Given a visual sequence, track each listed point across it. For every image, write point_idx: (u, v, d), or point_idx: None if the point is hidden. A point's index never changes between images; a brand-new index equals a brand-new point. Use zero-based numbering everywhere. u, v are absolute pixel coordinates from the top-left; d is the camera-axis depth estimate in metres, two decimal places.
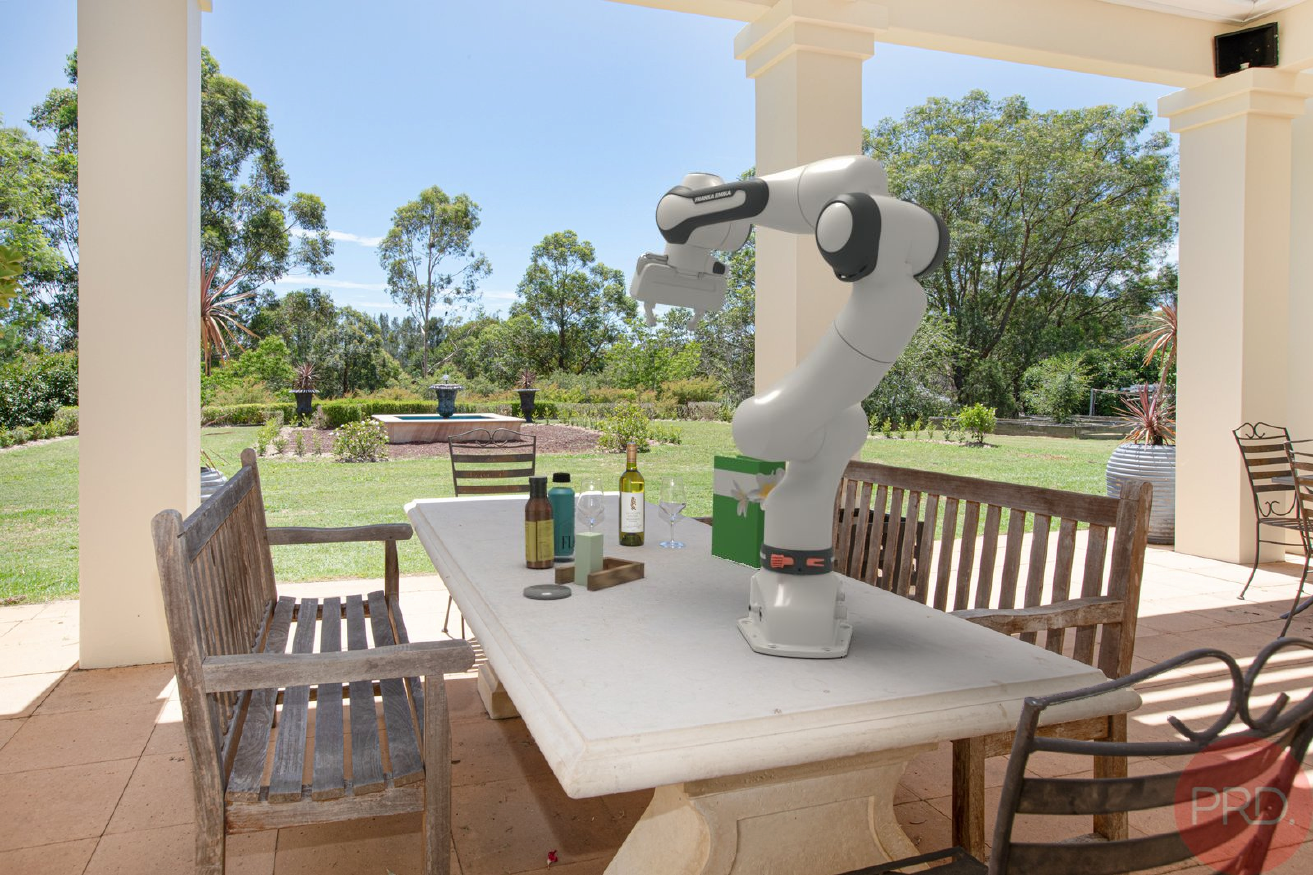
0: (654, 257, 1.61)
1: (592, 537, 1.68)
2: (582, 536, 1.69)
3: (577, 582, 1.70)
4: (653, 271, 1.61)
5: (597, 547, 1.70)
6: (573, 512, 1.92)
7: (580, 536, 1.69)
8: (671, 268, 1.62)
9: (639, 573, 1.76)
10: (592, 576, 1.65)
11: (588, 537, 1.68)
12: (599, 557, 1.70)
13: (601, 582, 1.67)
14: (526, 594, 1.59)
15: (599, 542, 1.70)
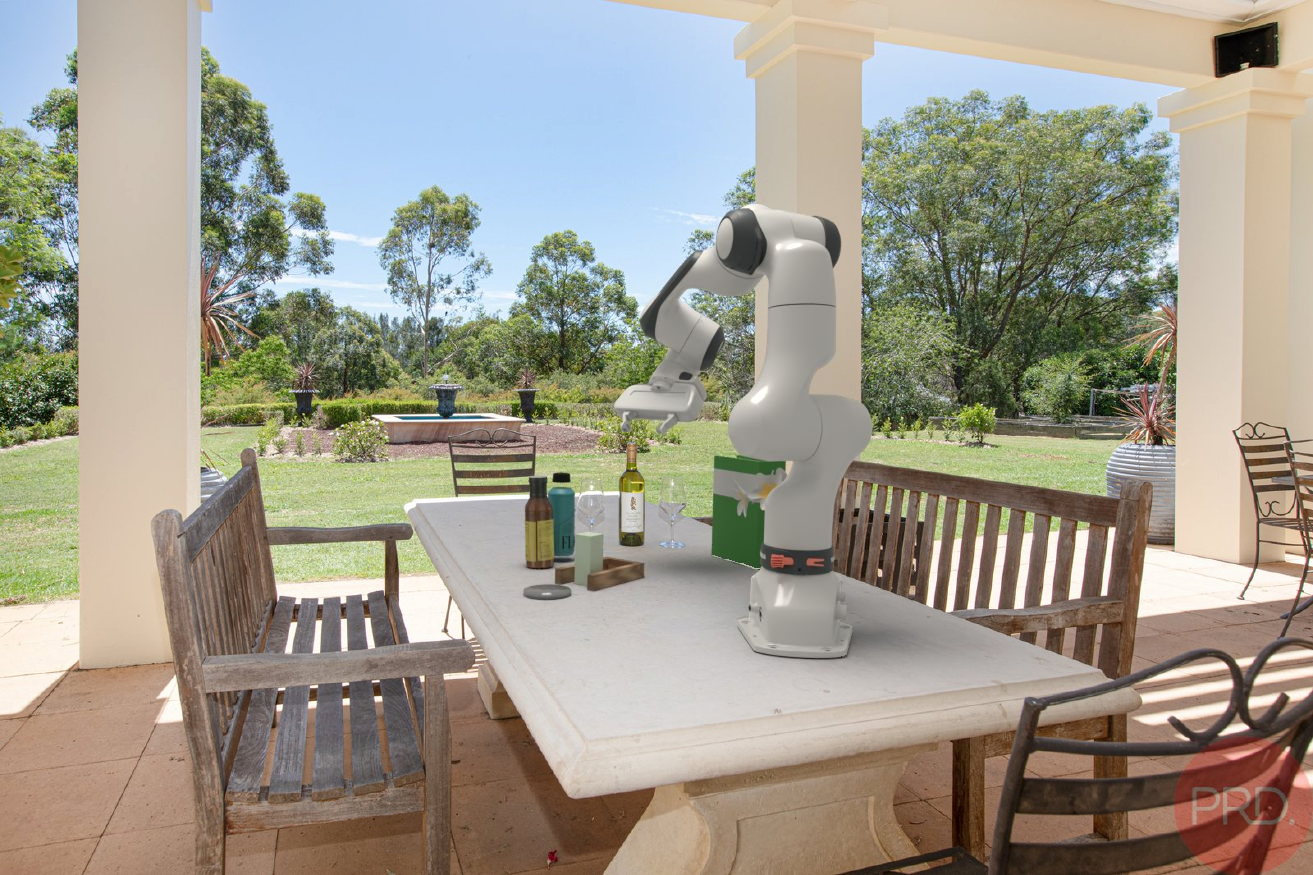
0: (640, 385, 1.89)
1: (592, 537, 1.68)
2: (582, 536, 1.69)
3: (577, 582, 1.70)
4: (632, 388, 1.87)
5: (597, 547, 1.70)
6: (573, 512, 1.92)
7: (580, 536, 1.69)
8: (648, 385, 1.85)
9: (639, 573, 1.76)
10: (592, 576, 1.65)
11: (588, 537, 1.68)
12: (599, 557, 1.70)
13: (601, 582, 1.67)
14: (526, 594, 1.59)
15: (599, 542, 1.70)
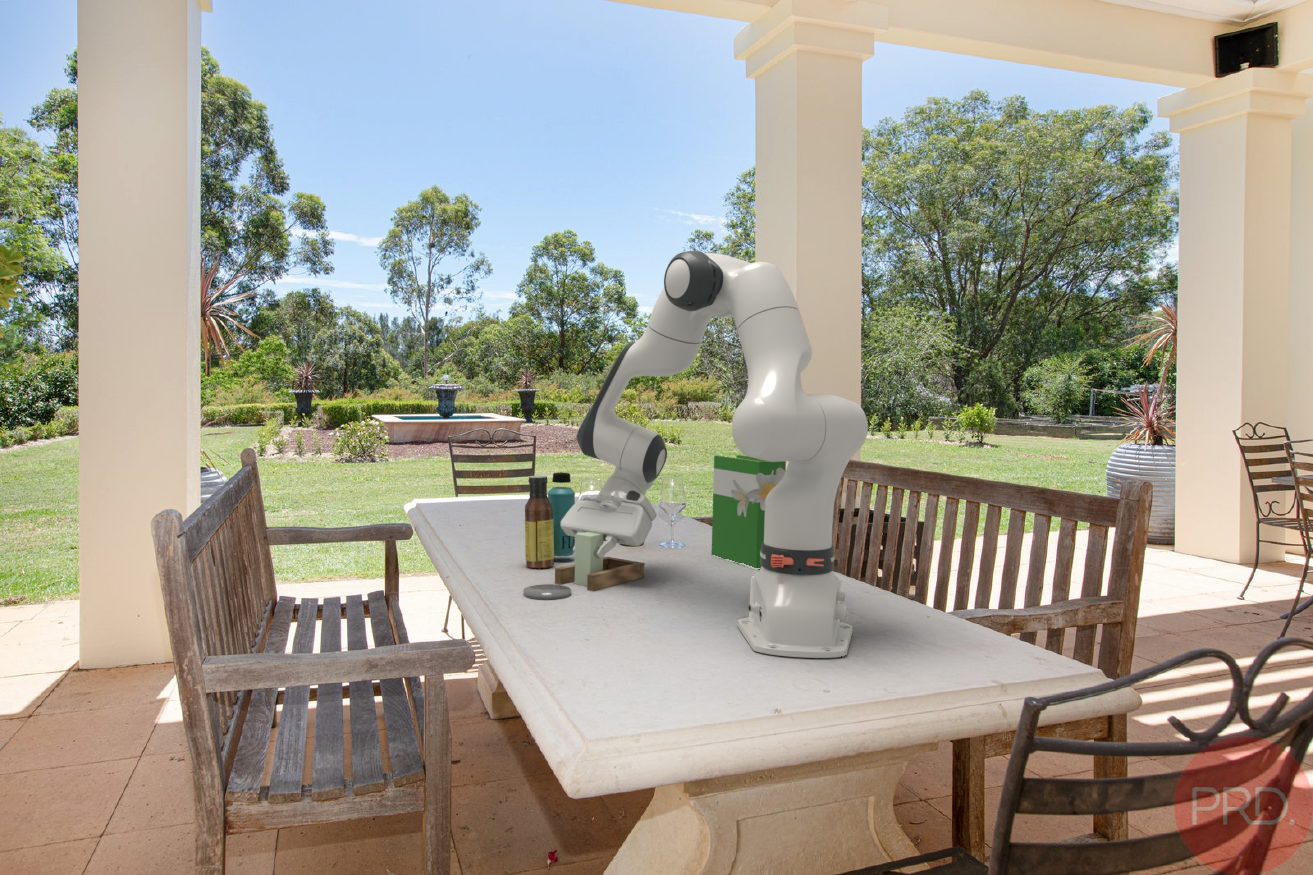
0: (589, 499, 1.81)
1: (592, 537, 1.68)
2: (582, 535, 1.69)
3: (577, 582, 1.70)
4: (579, 504, 1.79)
5: None
6: None
7: (580, 536, 1.69)
8: (596, 502, 1.78)
9: (639, 573, 1.76)
10: (592, 576, 1.65)
11: (588, 537, 1.68)
12: None
13: (601, 582, 1.67)
14: (526, 594, 1.59)
15: (599, 542, 1.70)
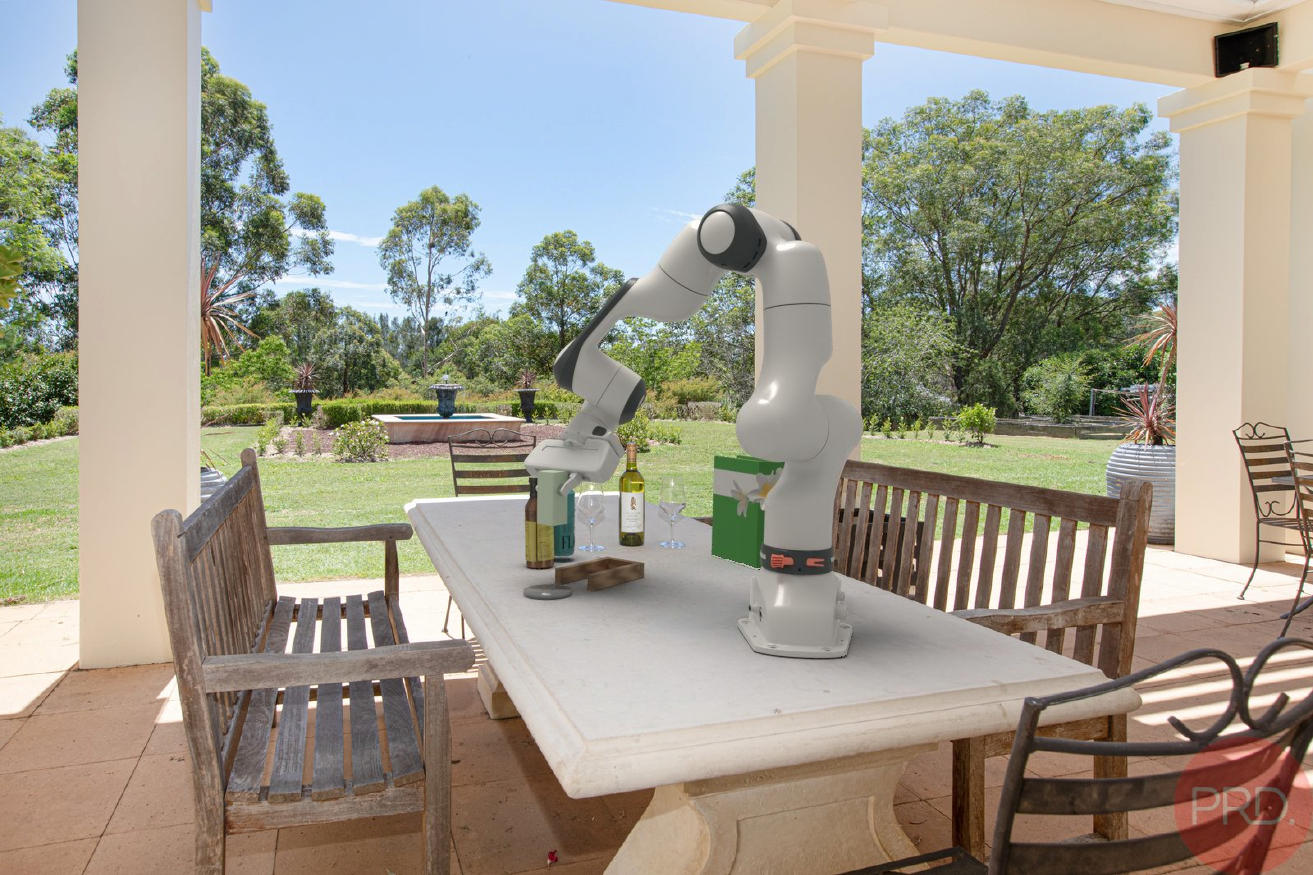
0: (555, 439, 1.72)
1: (555, 473, 1.59)
2: (544, 472, 1.59)
3: (540, 522, 1.60)
4: (544, 443, 1.70)
5: None
6: (573, 512, 1.92)
7: (543, 473, 1.60)
8: (561, 440, 1.68)
9: (639, 573, 1.76)
10: (592, 576, 1.65)
11: (551, 473, 1.58)
12: None
13: (601, 582, 1.67)
14: (526, 594, 1.59)
15: (563, 479, 1.60)
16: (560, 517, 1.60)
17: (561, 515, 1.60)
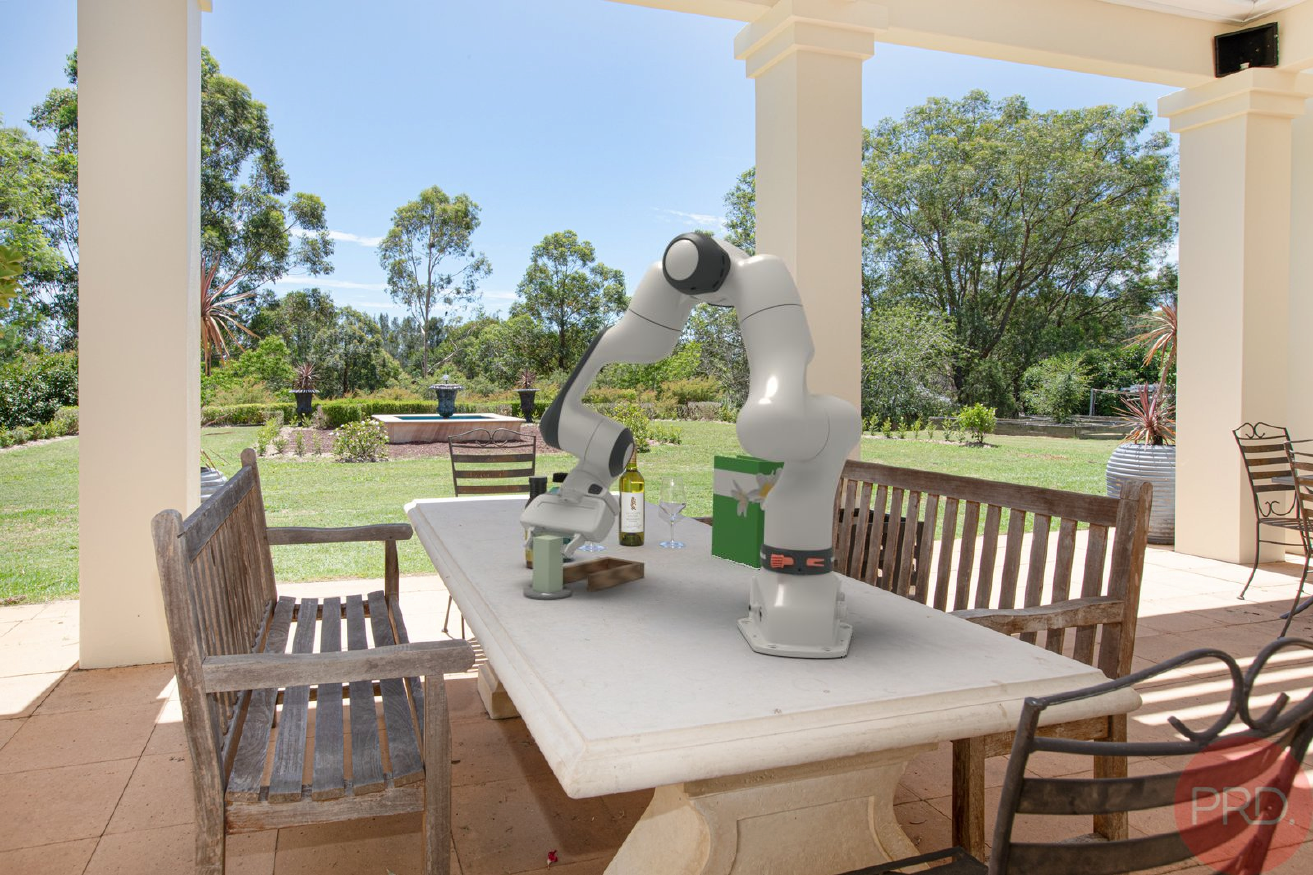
0: (551, 494, 1.71)
1: (551, 540, 1.58)
2: (540, 539, 1.59)
3: (535, 588, 1.60)
4: (540, 499, 1.69)
5: (557, 551, 1.60)
6: None
7: (538, 539, 1.60)
8: (557, 496, 1.68)
9: (639, 573, 1.76)
10: (592, 576, 1.65)
11: (546, 540, 1.58)
12: (559, 561, 1.61)
13: (601, 582, 1.67)
14: (526, 594, 1.59)
15: (559, 546, 1.60)
16: (556, 584, 1.60)
17: (557, 581, 1.60)
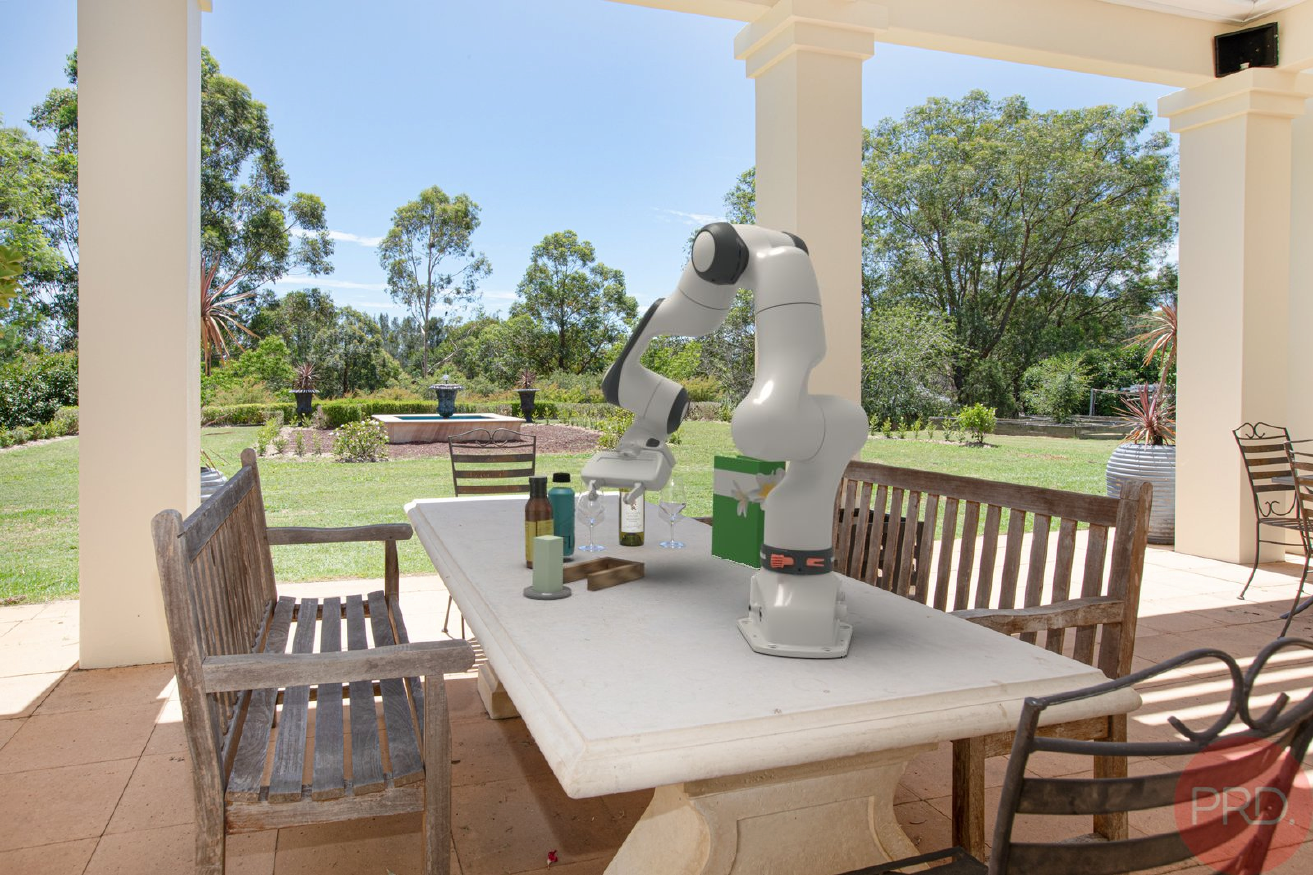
0: (608, 451, 1.83)
1: (551, 541, 1.58)
2: (540, 539, 1.59)
3: (535, 588, 1.60)
4: (599, 455, 1.81)
5: (557, 552, 1.60)
6: (573, 512, 1.92)
7: (538, 540, 1.59)
8: (615, 452, 1.80)
9: (639, 573, 1.76)
10: (592, 576, 1.65)
11: (546, 541, 1.58)
12: (559, 562, 1.61)
13: (601, 582, 1.67)
14: (526, 594, 1.59)
15: (558, 546, 1.60)
16: (556, 584, 1.60)
17: (557, 582, 1.60)
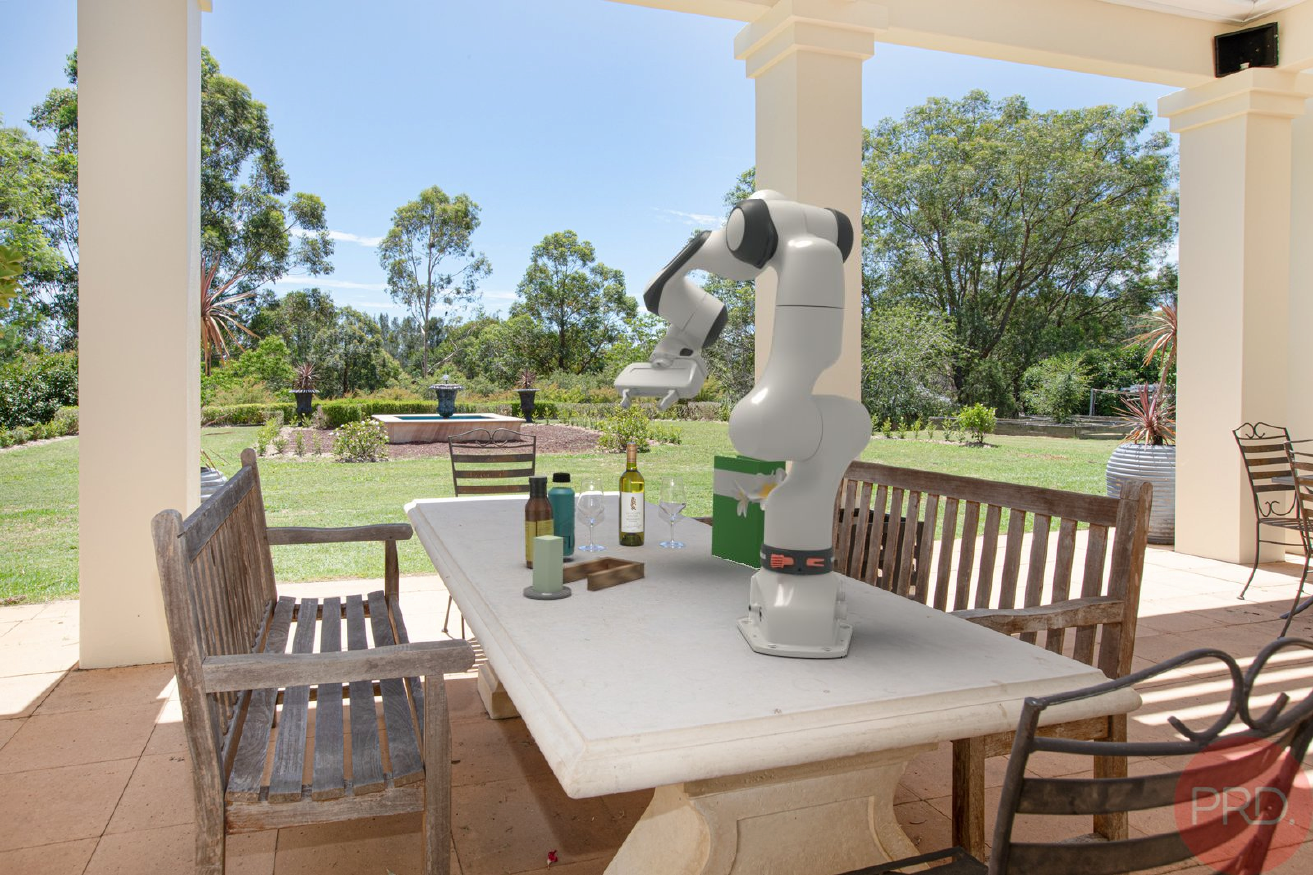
0: (641, 363, 1.86)
1: (551, 541, 1.58)
2: (540, 539, 1.59)
3: (535, 588, 1.60)
4: (632, 366, 1.84)
5: (557, 552, 1.60)
6: (573, 512, 1.92)
7: (538, 540, 1.59)
8: (648, 363, 1.83)
9: (639, 573, 1.76)
10: (592, 576, 1.65)
11: (546, 541, 1.58)
12: (559, 562, 1.61)
13: (601, 582, 1.67)
14: (526, 594, 1.59)
15: (559, 546, 1.60)
16: (556, 584, 1.60)
17: (557, 582, 1.60)
